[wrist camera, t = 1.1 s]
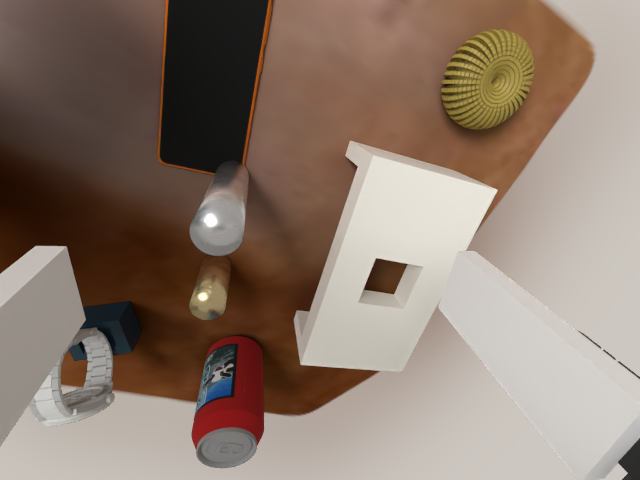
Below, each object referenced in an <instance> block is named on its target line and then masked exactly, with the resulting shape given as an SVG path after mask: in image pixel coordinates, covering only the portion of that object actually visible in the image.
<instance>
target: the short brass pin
mask: <svg viewBox="0 0 640 480" xmlns="http://www.w3.org/2000/svg"><path fill="white" fill-rule="evenodd" d="M231 267H232V265H231V261H230V260H229V258H228V257H226V256H225V255H222V256H214V255H208V256H206V257H205V259H204V260H203V262H202V266H201V269H200V272H199V275H198V278H197V281H196V285H195V288H194V291H193V294H192V297H191V300H190V304H189V308H190V311H191V312H192V314H193V315H194V316H196V317H197V318H200V319H203V320H212V319H216V318H218V317H220V316H221V315H222V314H223V313H224V311H225V307H226V300H227V293H228V287H229V280H230V273H231Z"/></svg>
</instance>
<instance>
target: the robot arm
mask: <svg viewBox="0 0 640 480" xmlns="http://www.w3.org/2000/svg"><path fill="white" fill-rule="evenodd" d="M438 308H439V309H440V311H441V312H442V313H443V315H444V316H445V317H446V318H447V320H448V321H449V322H450V323H451V324H452V326H453V327H454V328H455V329H456V331H457V332H458V333H459V334H460V335H461V337H462V338H463V339H464V340H465V342H466V343H467V344H468V345H469V346H470V348H471V349H472V350H473V352H474V353H475V354H476V355H477V356H478V358H479V359H480V360H481V361H482V363H483V364H484V365H485V366H486V368H487V369H488V370H489V371H490V372H491V374H492V375H493V376H494V377H495V379H496V380H497V381H498V382H499V384H500V385H501V386H502V387H503V389H504V390H505V391H506V392H507V393H508V394H509V396H510V397H511V398H512V400H513V401H514V402H515V403H516V405H517V406H518V407H519V408H520V409H521V411H522V412H523V413H524V414H525V416H526V417H527V418H528V419H529V421H530V422H531V423H532V424H533V426H534V427H535V428H536V429H537V430H538V432H539V433H540V434H541V435H542V437H543V438H544V439H545V440H546V441H547V442H548V444H549V445H550V447H551V448H552V449H553V450H554V451H555V453H556V454H557V455H558V456H559V458H560V459H561V460H562V461H563V463H564V464H565V465H566V466H567V467H568V469H569V470H570V471H571V472H572V474H573V475H574V476H575V477H576V479H577V480H597V479H602V478H605V477H606V476H607V475H608V474H609V472H610V471H611V470H612V469H613V468H614V467H615V466H616V465H617V464H618V463H619V464H620V465H621V466H622V467H623V468H624V469H625V470H626V471H627V472H628V474H627V475H626V476H625V477H624V478H623V479H622V480H640V377H639V376H637V375H636V374H635V373H634V372H632V371H631V370H630V369H628V368H627V367H626V366H624V365H623V364H622V363H621V362H617V361H616V360H615V358H614V357H613V356H612V355H610V354H609V353H608V352H606V351H605V350H601V347H600V346H599V345H597V344H596V343H595V342H593V341H592V340H591V339H590V338H588V337H587V336H586V335H584V334H583V333H581V332H579V331H577V330H576V329H574V328H573V327H572V326H570V325H569V324H568V323H567V322H565V321H564V320H563V319H562V318H560V317H559V316H558V315H556V314H555V313H554V312H553V311H551V310H550V309H549V308H547V307H546V306H545V305H544V304H542V303H541V302H540V301H538V300H537V299H536V298H535V297H533V296H532V295H531V294H529V293H528V292H527V291H526V290H524V289H523V288H522V287H521V286H519V285H518V284H517V283H515V282H514V281H513V280H511V279H510V278H509V277H508V276H506V275H505V274H504V273H502V272H501V271H500V270H498V269H497V268H496V267H495V266H494V265H492V264H491V263H490V262H488V261H487V260H486V259H484V258H483V257H482V256H480V255H479V254H478V253H477V252H475V251H458V252H457V255H456V258H455V261H454V264H453V266H452V269H451V272H450V275H449V278H448V281H447V283H446V286H445V289H444V292H443V295H442V298H441V300H440V303H439V306H438ZM85 320H86V318H85V314H84V310H83V307H82V303H81V299H80V295H79V292H78V288H77V284H76V280H75V276H74V273H73V269H72V265H71V261H70V258H69V254H68V250H67V246H35V247H34V248H32V249H31V250H30V251H29V252H27V253H26V254H25V255H24V256H22V257H21V258H20V259H19V260H17V261H16V262H15V263H14V264H12V265H11V266H10V267H8V268H7V269H6V270H5V271H3V272H2V273H1V274H0V446H1V445H2V443H3V442H4V440H5V439H6V437H7V436H8V434H9V433H10V431H11V430H12V428H13V427H14V425H15V424H16V422H17V421H18V419H19V418H20V417H21V415H22V414H23V412H24V411H25V409H26V408H27V406H28V405H29V403H30V402H31V400H32V399H33V397H34V396H35V394H36V393H37V391H38V390H39V388H40V387H41V385H42V384H43V382H44V381H45V379H46V378H47V377H48V375H49V374H50V372H51V371H52V369H53V368H54V366H55V365H56V363H57V362H58V360H59V359H60V357H61V356H62V354H63V353H64V351H65V350H66V348H67V347H68V345H69V344H70V342H71V341H72V340H73V338H74V337H75V335H76V334H77V332H78V331H79V329H80V328H81V326H82V325H83V323H84V322H85Z"/></svg>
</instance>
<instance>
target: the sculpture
mask: <svg viewBox="0 0 640 480" xmlns="http://www.w3.org/2000/svg"><path fill="white" fill-rule="evenodd" d="M485 46H486V48H485ZM461 60H462V61H463V62H462V61H461ZM472 63H473V64H472ZM533 63H534V59H533V57H532V52H531V50H530V48H529V45H528V44H527V43H526V42H525V40H524V39H523V38H522V37H520V36H519V35H517V34H516V33H513V32H512V31H509V30H507V31H506V30H504V29H503V30H502V29H497V30H496V29H494V30H493V29H492V30H489V31H484V32H482V33H479V34H478V35H475V36H473V37H472V38H470V39H469V40H468V41H466V42H465V43H464V44H463V45H462V47H460V48H459V49H458V50H457V51H456V53H455V55H453V57H452V58H451V60H450V63H449V64H448V65H447V67H446V69H447V70H448V71H445V74H444V77H446V78H449V79H454V80H442V84H456V85H451V86H445V87H442V90H441V92H445V93H444V94H443V95H442V100H444V101H443V105H444V107H445V108H446V109H445V110H446V112H447V113H448V114H449V116H450V118H451V119H452V120H454V122H456V123H457V124H459V125H461V126H462V127H465V128H468V129H475V130H480V129H487V128H489V127H494V126H496V125H498V124H500V123H502V122H504V121H505V120H506V119H508V118H509V117H511V115H512V114H514V113H515V112H516V111H517V110H518V107H520V106H521V105H522V103H523V101H524V100H525V99H526V96H527V95H526V94H525V93H529V91H530V88H527V87H526V86H522V85H531V84H532V82H533V81H522V80H527V79H531V78H533V77H534V73H531V72H532V71H534V65H532V64H533ZM454 68H455V69H454ZM455 70H457V71H455ZM455 75H456V76H455ZM520 80H521V81H520ZM452 93H453V94H452ZM450 94H451V95H450ZM448 95H450V96H448ZM463 99H464V100H463ZM450 100H451V101H450ZM469 105H470V106H469ZM471 108H472V109H471ZM475 111H476V112H475ZM476 117H477V118H476ZM472 120H473V121H472Z"/></svg>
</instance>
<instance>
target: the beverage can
mask: <svg viewBox="0 0 640 480" xmlns="http://www.w3.org/2000/svg"><path fill="white" fill-rule="evenodd" d="M263 432H264V383H263V353H262V350H261V347H260V346H259V345H258V344H257V343H256V342H255V341H253V340H252V339H249V338H246V337H242V336H231V337H226V338H223V339H221V340H219V341H217V342H216V343H214V344H213V345H212V346H211V347H210V349H209V350H208V353H207V356H206V361H205V366H204V371H203V376H202V381H201V386H200V391H199V396H198V401H197V406H196V412H195V417H194V423H193V429H192V440H193V443H194V445H195V448H196V454H197V457H198V459H199V461H201V462H202V463H203V464H205V465H207V466H210V467H215V468H229V467H234V466H237V465H240V464H243V463H245V462H246V461H248V460H249V459H250V458H251V457H252V456H253V455H254V453H255V452H256V449H257V445H258V443H259V441H260V439H261V437H262V435H263Z"/></svg>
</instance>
